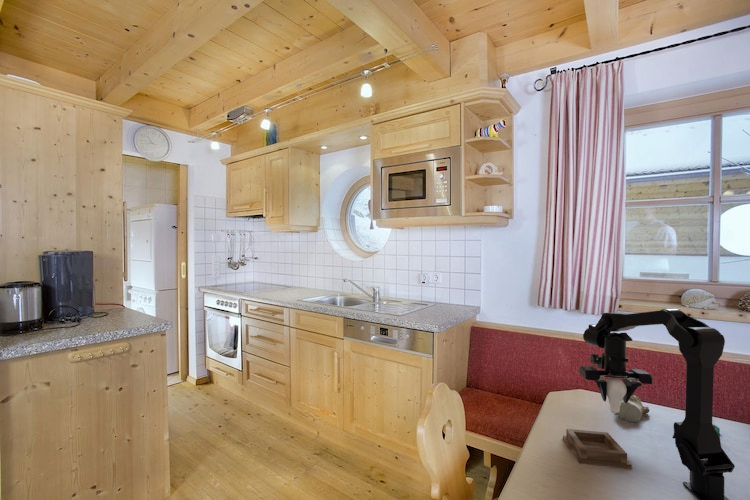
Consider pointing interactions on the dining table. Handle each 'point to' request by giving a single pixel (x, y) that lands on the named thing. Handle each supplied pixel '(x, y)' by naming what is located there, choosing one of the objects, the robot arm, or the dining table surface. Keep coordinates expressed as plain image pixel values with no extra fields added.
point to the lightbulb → (615, 393)
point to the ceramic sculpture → (632, 409)
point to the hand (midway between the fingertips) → (614, 401)
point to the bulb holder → (596, 448)
